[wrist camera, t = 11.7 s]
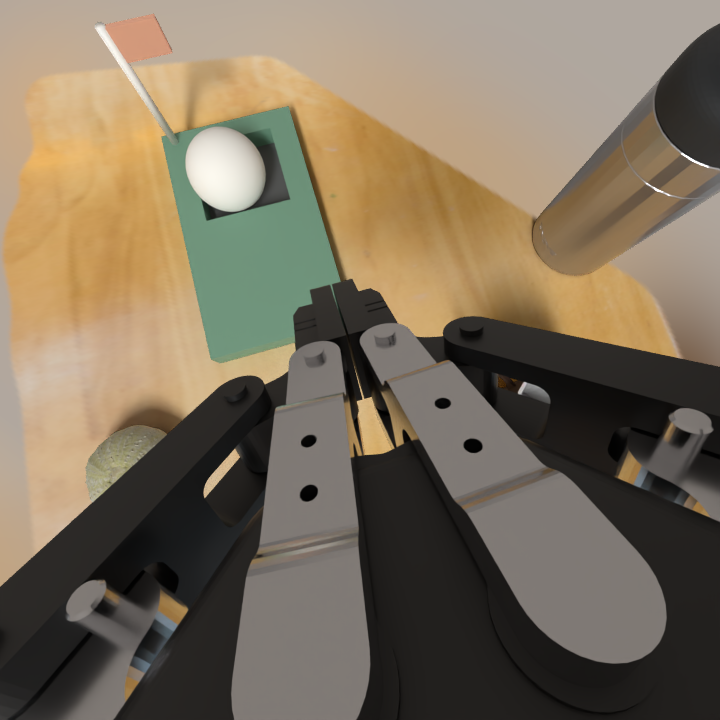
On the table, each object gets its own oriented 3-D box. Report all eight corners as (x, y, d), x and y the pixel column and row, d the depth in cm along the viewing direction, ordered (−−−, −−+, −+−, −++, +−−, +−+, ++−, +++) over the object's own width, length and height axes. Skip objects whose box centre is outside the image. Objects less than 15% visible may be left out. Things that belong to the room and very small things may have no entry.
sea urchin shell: (141, 400, 36) (141, 445, 30) (199, 439, 41) (210, 485, 35) (66, 463, 35) (49, 524, 29) (135, 495, 40) (134, 553, 33)
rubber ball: (259, 152, 33) (283, 213, 40) (238, 97, 35) (264, 164, 43) (177, 181, 32) (216, 236, 40) (162, 122, 35) (202, 185, 43)
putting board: (292, 123, 44) (260, -21, 29) (352, 326, 39) (349, 271, 25) (172, 153, 43) (80, 19, 29) (220, 363, 38) (139, 328, 24)
